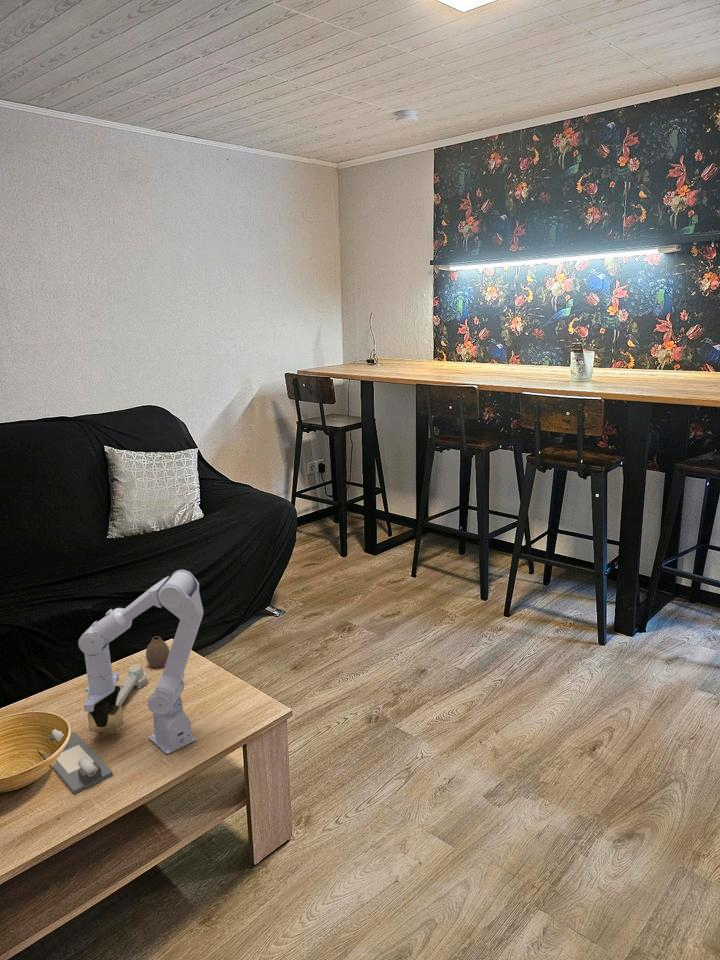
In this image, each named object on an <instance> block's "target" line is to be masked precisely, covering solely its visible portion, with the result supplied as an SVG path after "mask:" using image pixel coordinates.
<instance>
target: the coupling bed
mask: <svg viewBox="0 0 720 960" xmlns="http://www.w3.org/2000/svg"><path fill="white" fill-rule="evenodd" d="M70 733H71V736H70V740H69V742H68V744H67V745H66V747H65V748H64V750H63V751H62V753H61V754H60V756H59V757H58V758H57V759H56V763H55V765H54V766H53V768H52V770H53V771H54V772H55V774H56V775H57V774H58V775H57V776H58V777H59V778H60V780H61V781H62V782H63V783H64V784H65V786H66V788H68V790H69V791H70V792H71V793H72V794H73V795H76V794H78V793H81V792H83V791H85V790H86V789H88V788H90V787H93V786H94V785H96V784H99V783H100V782H103V781H104V780H106V779H108V778H111V777H112V776H113V775H114V774H113V770H111V769H110V768H109V767H108V765H106V763H105V762H104V761H103V760H102V759H101V758H100V757H99V755H97V754H96V753H95V752H94V751H93V750H92V749H91V747H90V746H89V745H88V744H87V743H86V742H85V741H84V740H83V738H81V737H80V736H79V735H78V734H77V733H76V731H72V732H70ZM47 735H48V733H46V736H47ZM63 736H64V734H63V733H62V732H61V731H58V730H56V729H54V730H52V735H50V734H49V735H48V737H49V739H50V740H51V742H52V741H53V740H54V738H55V739H56V741H57V742H59V741H60V740H61V739H62V737H63ZM42 754H43V755H44V757H45V758H47V757H48V756H49V755H50V754H51V753H50V754H44V753H42ZM44 757H43V758H44Z"/></svg>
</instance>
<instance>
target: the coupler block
mask: <svg viewBox="0 0 720 960" xmlns="http://www.w3.org/2000/svg"><path fill="white" fill-rule="evenodd" d="M87 719H88V720H87V722H88V729H89V732H98V733H115V734H116V733H118V732H119V730H120V729H121V728H122V726H123V725H124V722H125V721H124V715H123V706H122V705H121V706H117V705H108V708H107V723H106V726H105V727H97V725H96V723H95V721H94V719H93V717H92V715H91V714H90V713H89V712H87Z"/></svg>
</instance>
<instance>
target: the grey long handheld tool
mask: <svg viewBox="0 0 720 960" xmlns="http://www.w3.org/2000/svg"><path fill="white" fill-rule="evenodd" d="M147 676H148V675H147V671H146V670H145V669H143V666H142V665H141V664H139V663H134V664H132V665H131V666H130V667H129V668H128V674H127V675H126V677H125V678H124V680H123V681H122V682H121V683H120V684H119V686H120V692H119V694H118V697H117V701H116V705H117V706H122V704H123V703H124V701H125V700H126V698H127V696H128V695H129V693H130V692H131V690H139V689H141V688H143V687H145V686H146V684H147Z"/></svg>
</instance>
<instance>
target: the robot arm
mask: <svg viewBox="0 0 720 960" xmlns="http://www.w3.org/2000/svg"><path fill="white" fill-rule="evenodd" d="M201 599H202V598H201V594H200V582H199V581H198V580H197V578H196V577H195V576H194V574H192V572H191V571H189V570H186V569H179V570H176V571H174V572H173V573H172V574H171V576H170V575H168V576H166V577H164V578H162V579H161V580H160V581H158V582H157V583H155V584H154V585H152V586H151V587H150V588H149V589H147V590H146V591H144V593H142V594H141V595H139V596H138V597H137V598H136V599H135V600H134V601H132V602H131V603H130V604H129V605H127V606H126V607H125V608H122V607H116V608H114V609H112V608H110V609H109V610H108V611H107V612H106V613H105V616H104V617H102V618H101V619H100V620H98V621H97V620H96V621H94V622H93V623H92V624H91V625H90V626H89V628H87V629H86V630H85V632H84V633H82V634H81V636H80V637H79V639H78V642H77V644H78V648H79V650H80V651H81V652H82V653H84V661H85V667H86V675H87V682H88V683H87V684H88V685H87V686H86V687H85V688H84V692H85V693H87V695H86V699H85V701H84V703H83V709H84V712H87V713H88V712H89V713H90V714H91V715H92V717H93V719H94V721H95V723H96V725H97V727H105V726H106V723H107V708H108V705H116V701H117V697H118V694H119V692H120V685H116V684H117V682H118V681H120V675H119V672H113V668H112V663H111V653H110V645H109V643H111V642H113V641H114V640H115V639H116V638H118V637H119V636H121V635H122V634H123V633H125V632H126V631H127V630H129V629H130V628H132V627H131V626H132V623H133V620H134V619H135V618H137V617H138V616H139V615H141V614H142V613H145V612H146V611H147V610H148V609H150V608H151V607H153V606H154V607H156V608H159V609H162V608H163V607H164V608H165V609H166V610H168V611H169V612H170V613H171V614H173V615H174V616H176V618H178V619H179V623H178V626H177V629H176V632H175V635H174V638H173V640H172V643H171V647H170V648H169V651H170V652H169V655H168V658H167V661H166V664H165V665H164V669H163V671H162V674H161V676H160V678H159V681H158V683H157V684H156V687H155V689H154V690H153V692H152V693H151V694H150V696H148V699H147V707H148V709H149V711H150V712H151V713H152V717H153V728H154V733H153V734H151V735H149V736H148V739H149V740H150V741H152V742H153V744H155V746H157V747H158V748H159V749H160V750H161V751H162V752H164V754H165V755H169V754H172V753H173V752H175V751H177V750H179V749H181V748H183V747H185V746H188V745H189V744H192V743H194V742H196V738H195V737H194V736H193V735H192V726H191V725H192V724H191V719H190V717H189V716H188V715H187V714H186V713H185V710H184V707H183V700H182V697H181V696H182V695H181V694H182V693H183V691H184V689H185V683H184V679H185V673H184V672H185V670H186V668H187V667H186V666H187V663H188V661H189V658H190V655H191V653H192V649H193V645H194V644H195V640H196V637H197V634H198V631H199V628H200V625H201V622H202V620H203V616H204V607H203V603H202V600H201Z"/></svg>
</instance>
